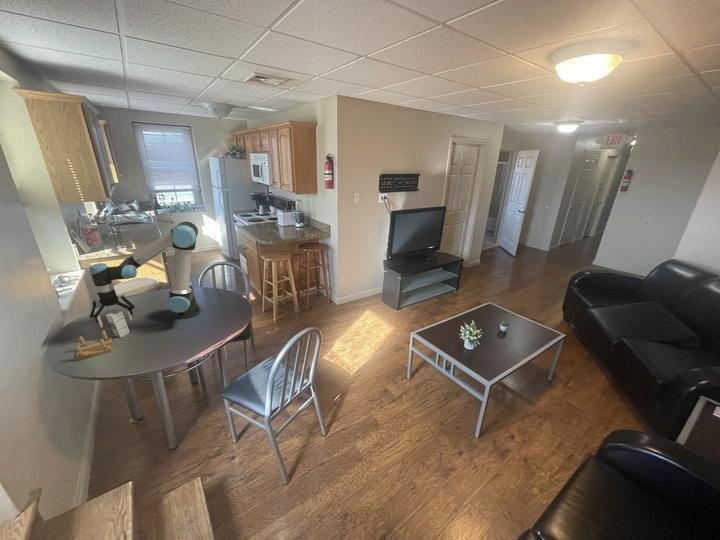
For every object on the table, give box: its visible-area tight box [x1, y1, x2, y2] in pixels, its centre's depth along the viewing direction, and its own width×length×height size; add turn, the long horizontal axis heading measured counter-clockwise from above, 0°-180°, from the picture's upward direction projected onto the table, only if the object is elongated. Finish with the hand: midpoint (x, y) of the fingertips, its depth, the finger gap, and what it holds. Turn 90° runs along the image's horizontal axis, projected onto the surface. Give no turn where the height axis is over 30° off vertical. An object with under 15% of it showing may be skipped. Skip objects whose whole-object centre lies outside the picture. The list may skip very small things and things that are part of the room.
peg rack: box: [74, 329, 114, 362], centre depth 156 cm, size 12×14×8 cm
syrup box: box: [105, 310, 130, 338], centre depth 169 cm, size 6×6×14 cm
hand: (116, 322), depth 168 cm, fingers open, 13 cm apart
